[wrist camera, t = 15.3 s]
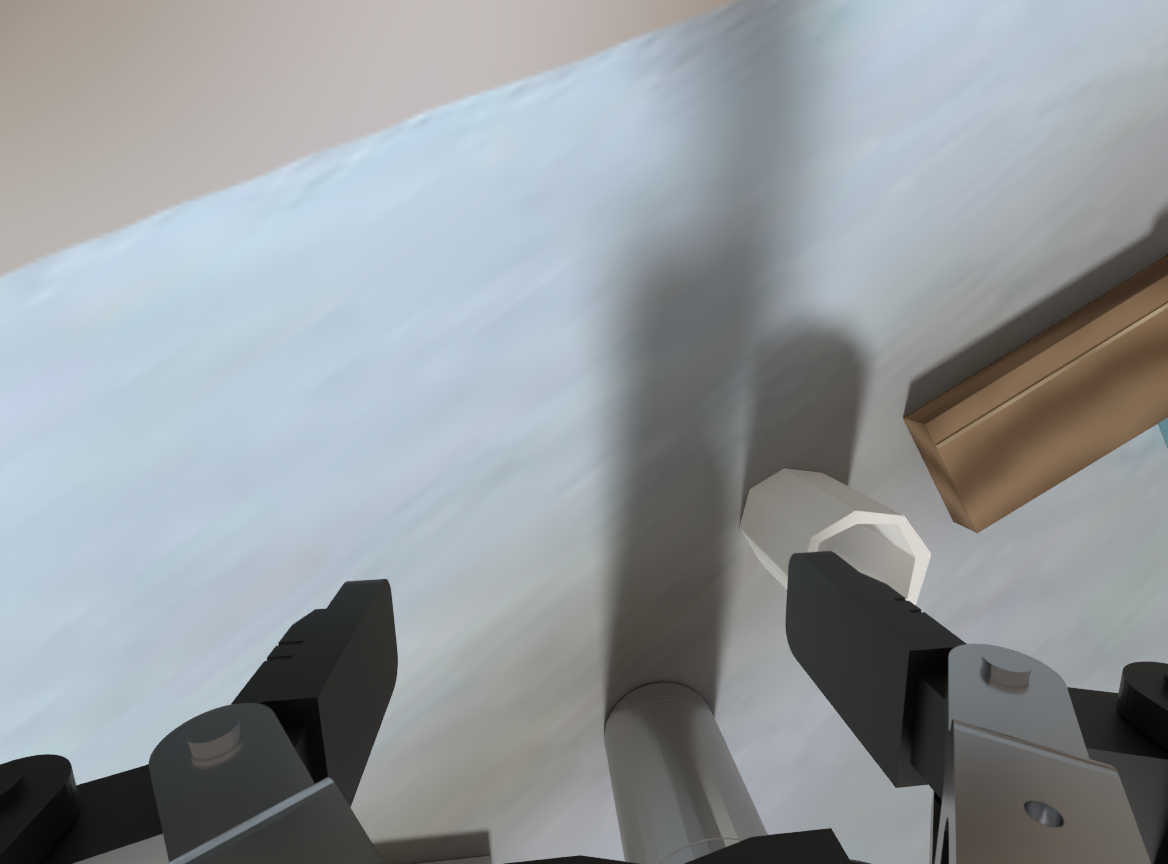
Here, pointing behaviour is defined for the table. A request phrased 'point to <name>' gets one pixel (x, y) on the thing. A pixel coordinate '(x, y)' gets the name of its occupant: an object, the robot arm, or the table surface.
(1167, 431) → the teal ice pop
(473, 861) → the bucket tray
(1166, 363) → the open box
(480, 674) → the table surface
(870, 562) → the mug
